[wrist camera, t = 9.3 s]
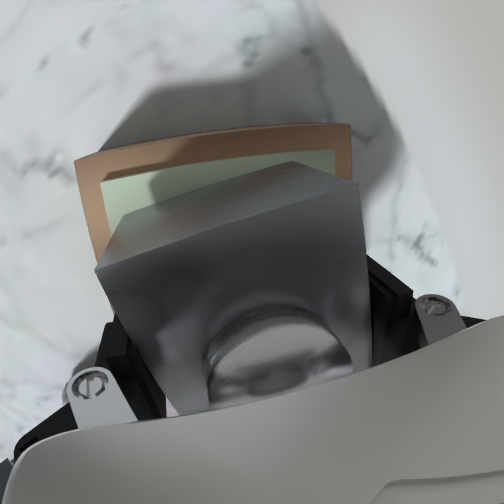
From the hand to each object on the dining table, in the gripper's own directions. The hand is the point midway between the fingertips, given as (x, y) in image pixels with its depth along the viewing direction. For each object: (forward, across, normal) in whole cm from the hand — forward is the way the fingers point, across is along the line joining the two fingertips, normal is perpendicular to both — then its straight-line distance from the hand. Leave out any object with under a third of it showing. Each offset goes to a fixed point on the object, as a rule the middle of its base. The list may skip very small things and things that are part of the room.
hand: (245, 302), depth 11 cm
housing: (+1, 0, 0) cm, 1 cm away
